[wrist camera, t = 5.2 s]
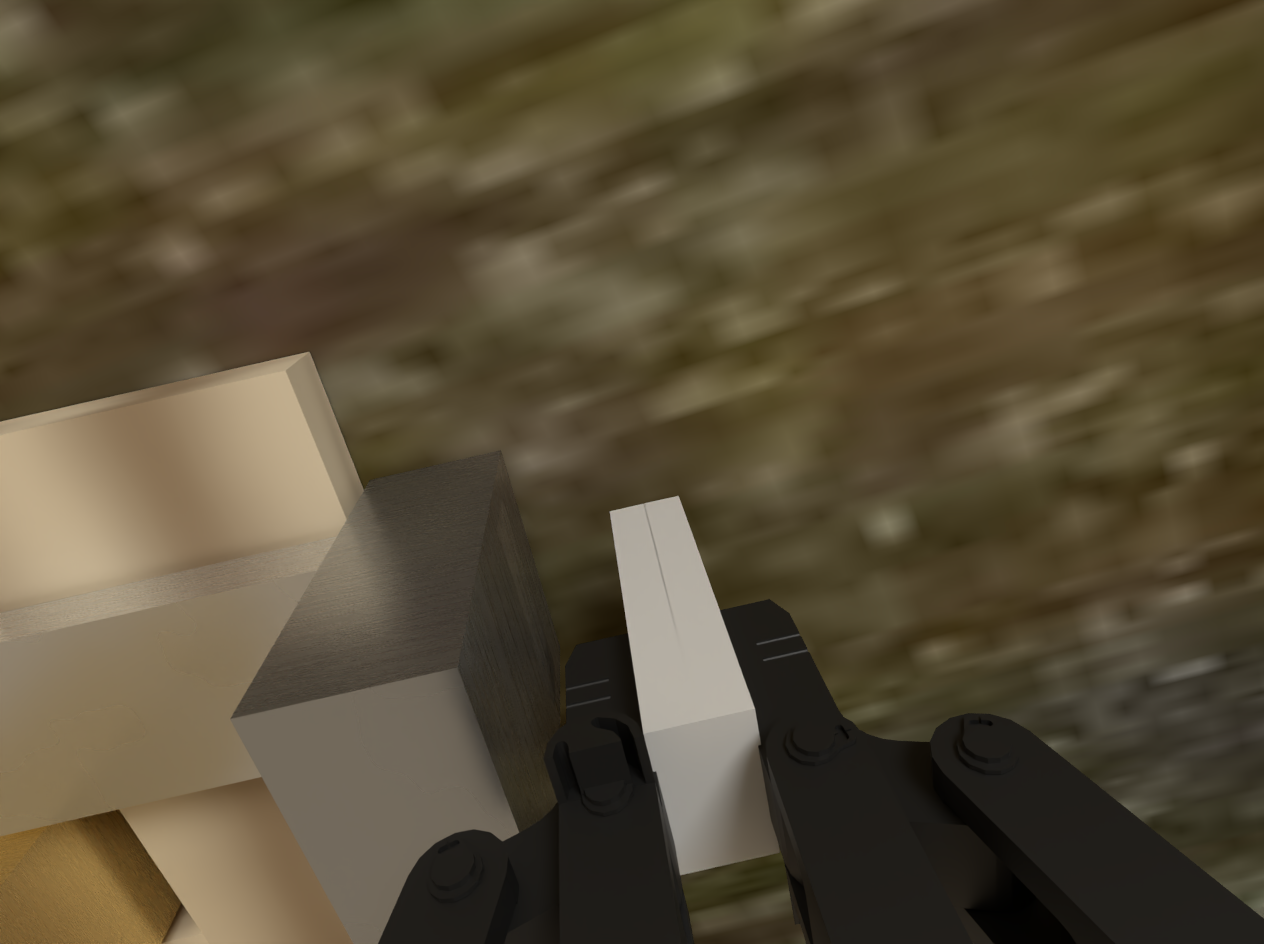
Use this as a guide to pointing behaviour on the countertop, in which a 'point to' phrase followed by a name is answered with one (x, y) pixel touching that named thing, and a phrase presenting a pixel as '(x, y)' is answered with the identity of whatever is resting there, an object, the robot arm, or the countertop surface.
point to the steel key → (308, 686)
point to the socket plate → (177, 541)
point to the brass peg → (82, 885)
